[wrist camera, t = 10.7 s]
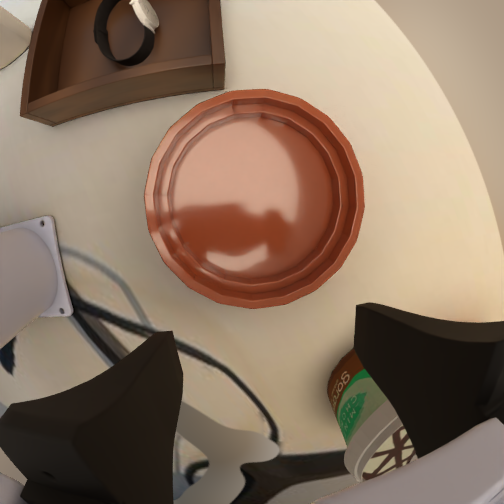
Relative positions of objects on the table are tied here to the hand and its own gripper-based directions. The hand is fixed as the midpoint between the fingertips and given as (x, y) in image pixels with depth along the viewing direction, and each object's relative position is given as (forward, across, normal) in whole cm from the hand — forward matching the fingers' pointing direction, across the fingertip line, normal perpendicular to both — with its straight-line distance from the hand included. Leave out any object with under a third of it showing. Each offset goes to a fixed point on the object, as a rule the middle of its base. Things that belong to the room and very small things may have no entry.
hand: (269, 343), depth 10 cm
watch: (+10, +7, -19) cm, 22 cm away
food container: (+10, -8, +12) cm, 18 cm away
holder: (+10, +7, -19) cm, 23 cm away
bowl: (+10, -1, -5) cm, 11 cm away
